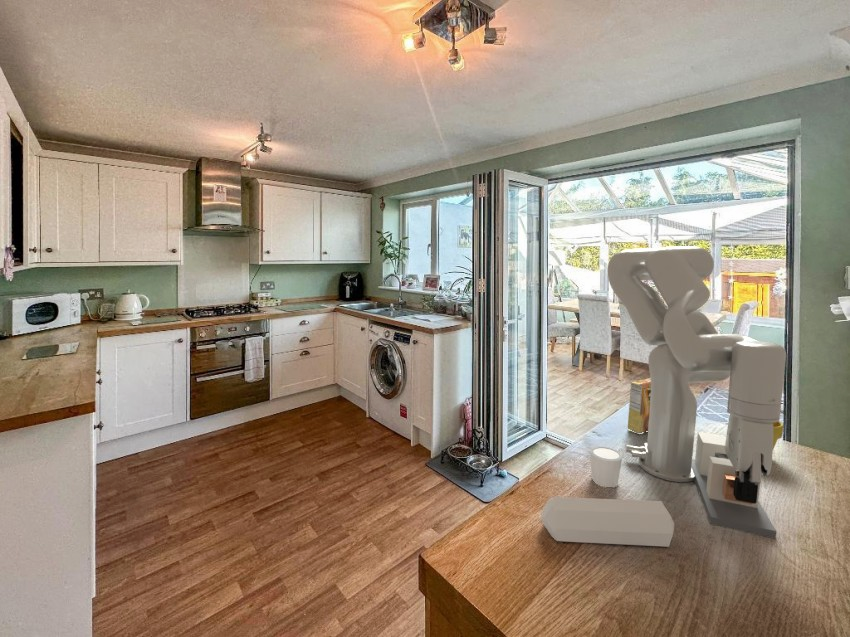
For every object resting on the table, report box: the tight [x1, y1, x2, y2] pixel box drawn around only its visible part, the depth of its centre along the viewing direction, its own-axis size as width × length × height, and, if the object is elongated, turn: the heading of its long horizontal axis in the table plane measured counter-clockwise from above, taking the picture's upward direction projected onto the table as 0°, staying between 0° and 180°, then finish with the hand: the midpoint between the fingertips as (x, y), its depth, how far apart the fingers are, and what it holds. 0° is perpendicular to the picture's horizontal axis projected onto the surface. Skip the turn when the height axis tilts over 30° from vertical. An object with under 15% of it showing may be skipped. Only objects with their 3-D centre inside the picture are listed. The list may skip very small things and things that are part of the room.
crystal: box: [541, 496, 675, 548], centre depth 74 cm, size 7×7×24 cm
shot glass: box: [589, 446, 623, 488], centre depth 91 cm, size 7×7×7 cm
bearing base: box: [691, 431, 777, 540], centre depth 85 cm, size 24×10×10 cm, turn 154°
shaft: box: [715, 453, 753, 504], centre depth 86 cm, size 20×4×4 cm, turn 154°
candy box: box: [627, 377, 651, 433], centre depth 117 cm, size 9×4×15 cm, turn 116°
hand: (744, 499), depth 75 cm, fingers closed
